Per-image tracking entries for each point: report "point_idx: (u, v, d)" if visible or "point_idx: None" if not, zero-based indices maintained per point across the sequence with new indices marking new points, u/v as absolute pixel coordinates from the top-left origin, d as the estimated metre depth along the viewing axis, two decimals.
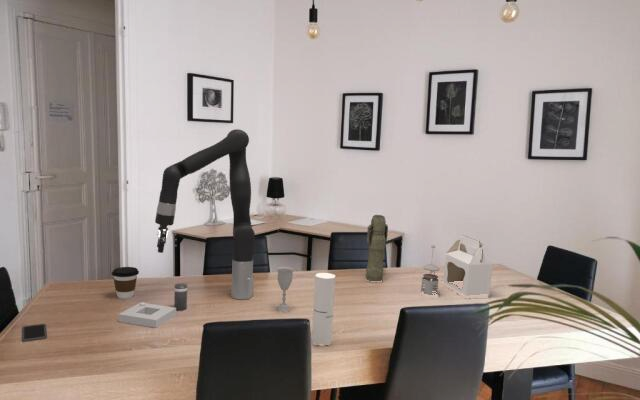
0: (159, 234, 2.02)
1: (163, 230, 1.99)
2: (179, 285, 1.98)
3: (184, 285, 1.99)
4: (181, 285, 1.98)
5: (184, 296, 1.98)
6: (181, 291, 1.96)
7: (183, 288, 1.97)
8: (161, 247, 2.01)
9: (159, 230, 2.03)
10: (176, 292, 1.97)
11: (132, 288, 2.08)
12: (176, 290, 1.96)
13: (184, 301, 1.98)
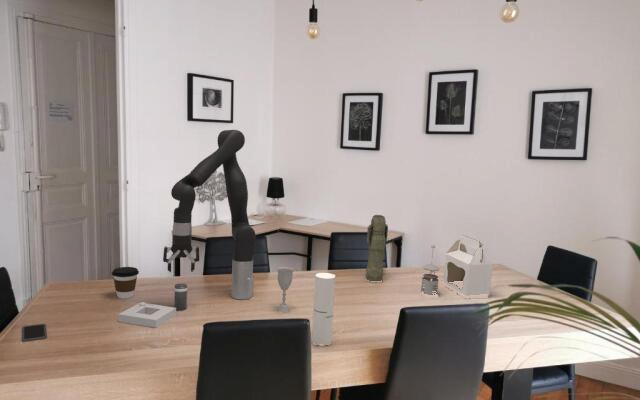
0: (189, 254, 1.97)
1: (198, 247, 1.98)
2: (179, 285, 1.98)
3: (184, 285, 1.99)
4: (181, 285, 1.98)
5: (184, 296, 1.98)
6: (181, 291, 1.96)
7: (183, 288, 1.97)
8: None
9: (187, 251, 1.96)
10: (176, 292, 1.97)
11: (132, 288, 2.08)
12: (176, 290, 1.96)
13: (184, 301, 1.98)
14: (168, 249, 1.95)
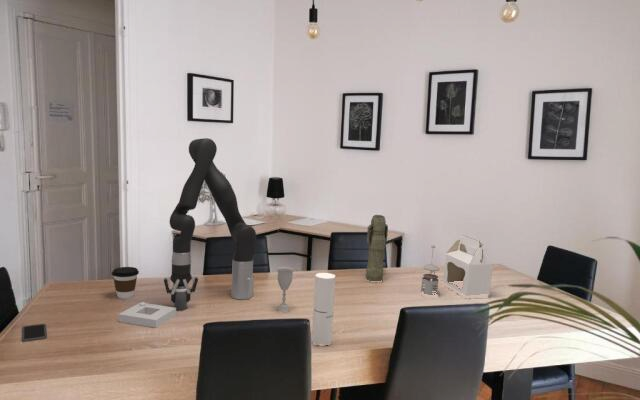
0: (187, 284, 1.98)
1: (197, 279, 2.00)
2: None
3: None
4: None
5: (184, 296, 1.98)
6: (181, 291, 1.96)
7: (183, 288, 1.97)
8: None
9: (186, 281, 1.97)
10: (176, 292, 1.97)
11: (132, 288, 2.08)
12: (176, 290, 1.96)
13: (184, 301, 1.98)
14: (168, 280, 1.96)
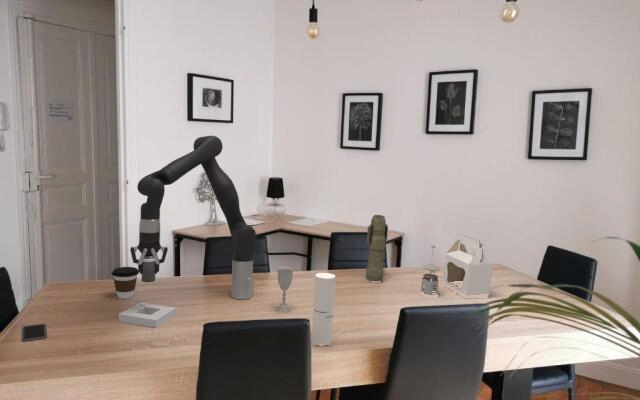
0: (156, 254, 1.84)
1: (167, 248, 1.86)
2: None
3: None
4: None
5: (152, 267, 1.84)
6: (149, 261, 1.83)
7: (151, 258, 1.83)
8: None
9: (154, 250, 1.84)
10: (143, 262, 1.83)
11: (132, 288, 2.08)
12: (143, 260, 1.83)
13: (152, 272, 1.84)
14: (135, 249, 1.83)
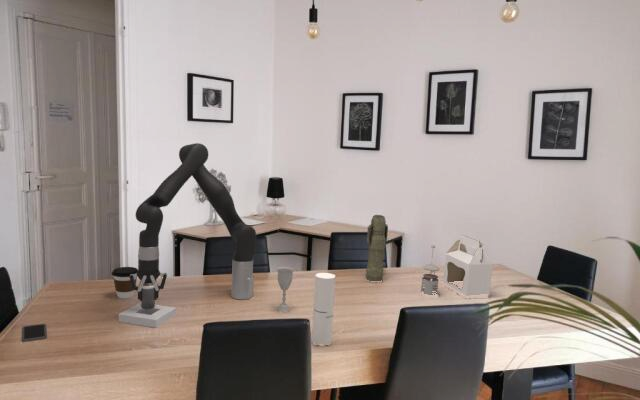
0: (155, 281, 1.85)
1: (166, 275, 1.87)
2: None
3: None
4: None
5: (152, 293, 1.85)
6: (148, 288, 1.84)
7: (150, 285, 1.84)
8: (158, 293, 1.88)
9: (153, 277, 1.85)
10: (143, 289, 1.84)
11: None
12: (143, 287, 1.84)
13: (151, 298, 1.85)
14: (134, 276, 1.83)
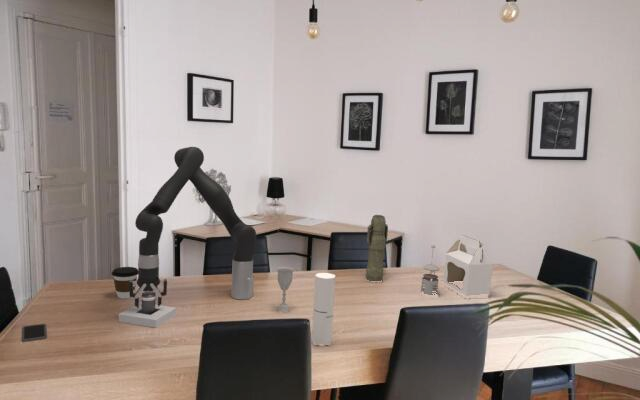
0: (156, 288, 1.86)
1: (166, 281, 1.88)
2: (147, 293, 1.86)
3: (152, 293, 1.86)
4: (149, 293, 1.86)
5: (152, 305, 1.85)
6: (148, 300, 1.84)
7: (151, 297, 1.85)
8: (161, 299, 1.88)
9: (154, 284, 1.85)
10: (143, 301, 1.84)
11: None
12: (143, 299, 1.84)
13: (151, 310, 1.86)
14: (134, 283, 1.84)
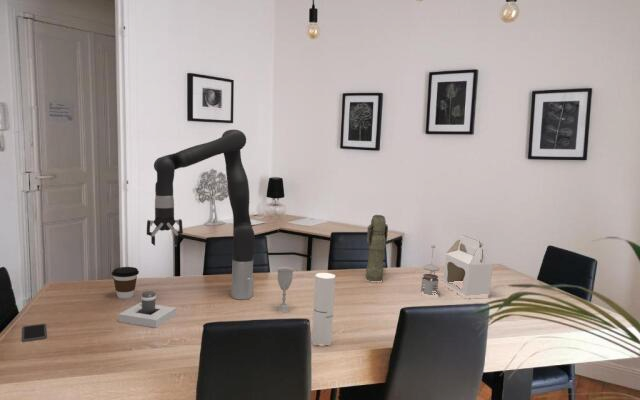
0: (173, 227, 1.99)
1: (181, 220, 2.01)
2: (146, 293, 1.86)
3: (152, 293, 1.86)
4: (149, 293, 1.86)
5: (152, 305, 1.85)
6: (148, 300, 1.84)
7: (150, 296, 1.85)
8: None
9: (170, 224, 1.98)
10: (143, 301, 1.85)
11: (132, 288, 2.08)
12: (143, 299, 1.84)
13: (151, 310, 1.86)
14: (151, 222, 1.97)
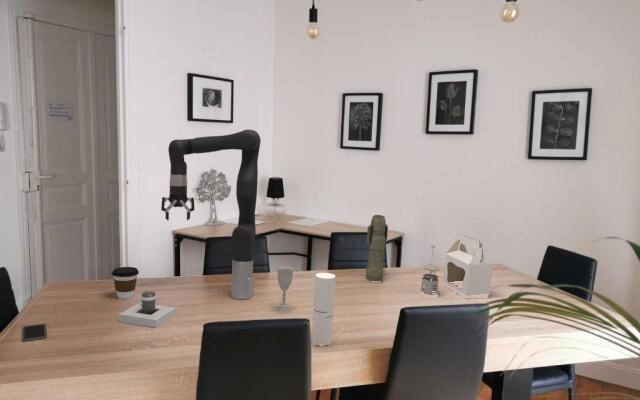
0: (185, 204, 2.16)
1: (193, 198, 2.17)
2: (147, 293, 1.86)
3: (152, 293, 1.87)
4: (149, 293, 1.86)
5: (152, 305, 1.85)
6: (148, 300, 1.84)
7: (151, 296, 1.85)
8: None
9: (183, 201, 2.15)
10: (143, 301, 1.85)
11: (132, 288, 2.08)
12: (143, 299, 1.84)
13: (151, 310, 1.86)
14: (166, 199, 2.14)
